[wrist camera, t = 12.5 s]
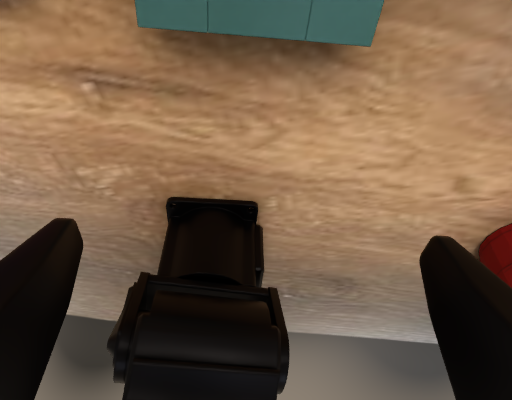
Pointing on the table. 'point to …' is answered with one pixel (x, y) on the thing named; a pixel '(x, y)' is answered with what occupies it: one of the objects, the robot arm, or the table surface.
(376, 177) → the table surface
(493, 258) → the plastic cup
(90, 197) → the table surface
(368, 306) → the table surface
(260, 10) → the block
